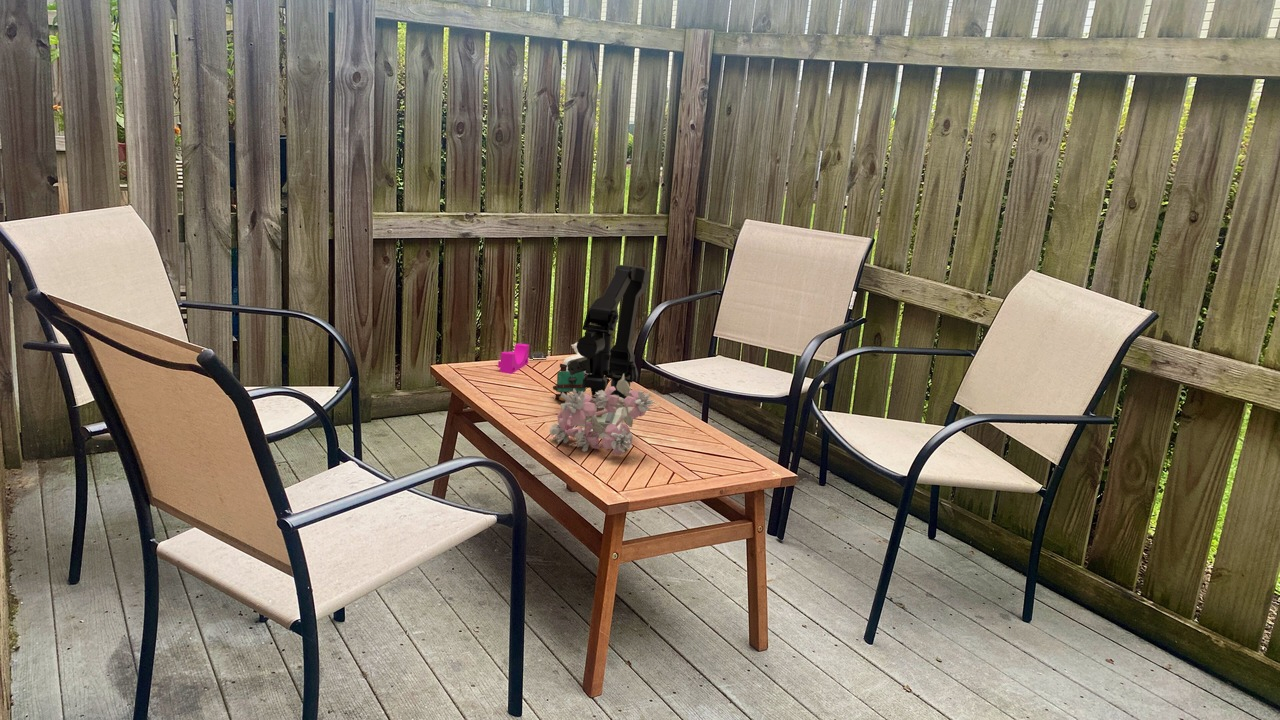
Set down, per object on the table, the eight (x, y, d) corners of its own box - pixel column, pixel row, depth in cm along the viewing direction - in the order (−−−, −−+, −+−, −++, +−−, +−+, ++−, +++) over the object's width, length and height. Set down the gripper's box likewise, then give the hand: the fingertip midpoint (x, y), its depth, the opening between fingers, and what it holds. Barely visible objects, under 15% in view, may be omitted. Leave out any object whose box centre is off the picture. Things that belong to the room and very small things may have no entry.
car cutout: (532, 368, 316) (532, 354, 315) (523, 362, 321) (524, 349, 320) (573, 365, 323) (574, 352, 322) (565, 360, 329) (565, 347, 328)
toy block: (509, 364, 316) (510, 342, 315) (527, 367, 315) (529, 344, 313) (492, 375, 302) (493, 351, 300) (511, 377, 301) (512, 354, 299)
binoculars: (579, 366, 286) (588, 362, 276) (579, 402, 285) (588, 400, 275) (549, 366, 283) (557, 362, 274) (549, 402, 282) (558, 400, 273)
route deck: (569, 407, 275) (570, 390, 274) (625, 412, 275) (627, 395, 273) (555, 434, 251) (556, 415, 250) (617, 440, 250) (618, 422, 249)
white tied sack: (567, 379, 303) (569, 344, 301) (559, 373, 310) (561, 339, 307) (602, 378, 308) (605, 344, 305) (594, 372, 315) (596, 338, 312)
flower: (671, 455, 248) (597, 491, 232) (613, 409, 260) (539, 440, 245) (685, 391, 237) (607, 424, 221) (624, 346, 249) (547, 375, 234)
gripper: (575, 339, 274) (571, 393, 278) (565, 355, 256) (561, 411, 260) (614, 343, 274) (610, 397, 277) (607, 359, 255) (603, 416, 259)
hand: (595, 405), depth 268 cm, fingers closed
